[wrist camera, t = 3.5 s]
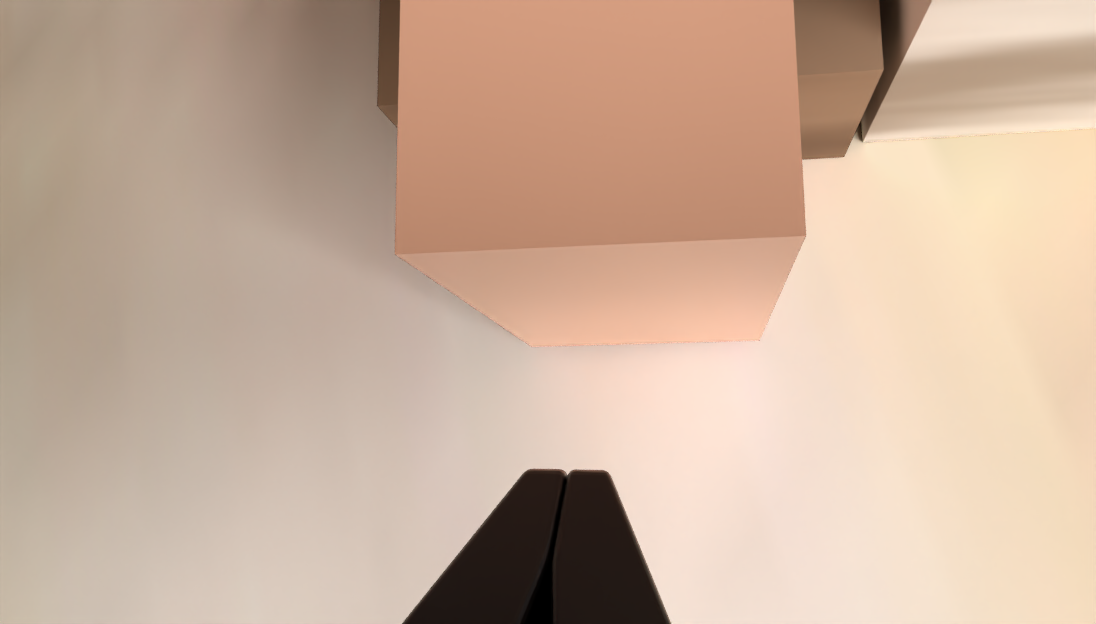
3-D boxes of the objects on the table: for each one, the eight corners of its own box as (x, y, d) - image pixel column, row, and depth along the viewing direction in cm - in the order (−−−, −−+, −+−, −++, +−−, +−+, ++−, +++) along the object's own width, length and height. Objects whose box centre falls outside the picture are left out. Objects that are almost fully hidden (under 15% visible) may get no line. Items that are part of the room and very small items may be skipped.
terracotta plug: (759, 340, 19) (805, 236, 10) (531, 346, 20) (395, 253, 11) (749, 110, 20) (784, -168, 11) (530, 125, 21) (402, -124, 12)
